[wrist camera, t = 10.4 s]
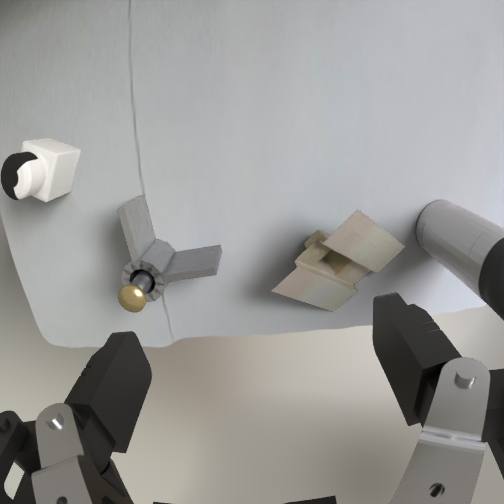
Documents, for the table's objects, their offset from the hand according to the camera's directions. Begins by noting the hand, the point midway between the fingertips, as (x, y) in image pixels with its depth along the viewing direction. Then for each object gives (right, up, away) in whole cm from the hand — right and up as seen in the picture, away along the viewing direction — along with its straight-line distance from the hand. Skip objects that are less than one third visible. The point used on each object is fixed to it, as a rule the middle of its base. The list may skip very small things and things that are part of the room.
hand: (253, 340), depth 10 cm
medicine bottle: (-30, +17, +31) cm, 46 cm away
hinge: (-11, +6, +35) cm, 38 cm away
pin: (-14, +2, +37) cm, 39 cm away
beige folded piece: (+13, +2, +37) cm, 39 cm away
